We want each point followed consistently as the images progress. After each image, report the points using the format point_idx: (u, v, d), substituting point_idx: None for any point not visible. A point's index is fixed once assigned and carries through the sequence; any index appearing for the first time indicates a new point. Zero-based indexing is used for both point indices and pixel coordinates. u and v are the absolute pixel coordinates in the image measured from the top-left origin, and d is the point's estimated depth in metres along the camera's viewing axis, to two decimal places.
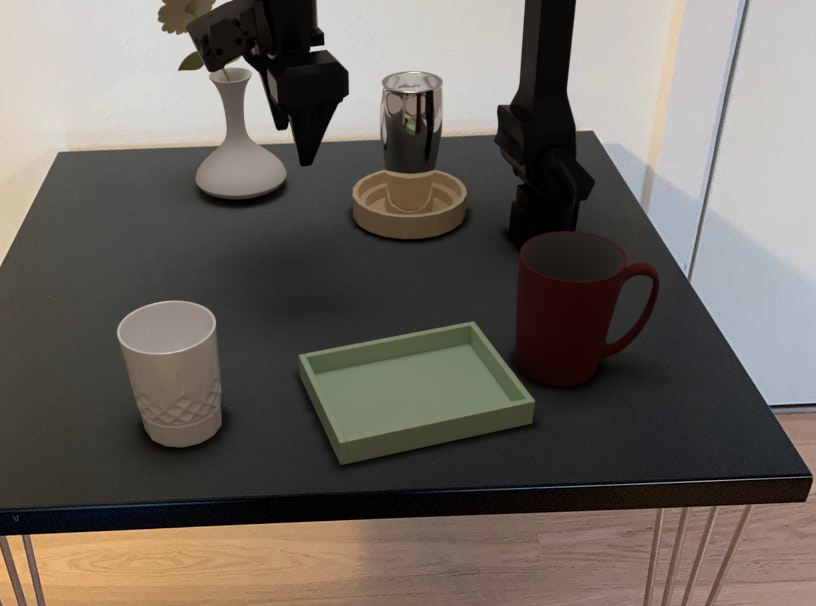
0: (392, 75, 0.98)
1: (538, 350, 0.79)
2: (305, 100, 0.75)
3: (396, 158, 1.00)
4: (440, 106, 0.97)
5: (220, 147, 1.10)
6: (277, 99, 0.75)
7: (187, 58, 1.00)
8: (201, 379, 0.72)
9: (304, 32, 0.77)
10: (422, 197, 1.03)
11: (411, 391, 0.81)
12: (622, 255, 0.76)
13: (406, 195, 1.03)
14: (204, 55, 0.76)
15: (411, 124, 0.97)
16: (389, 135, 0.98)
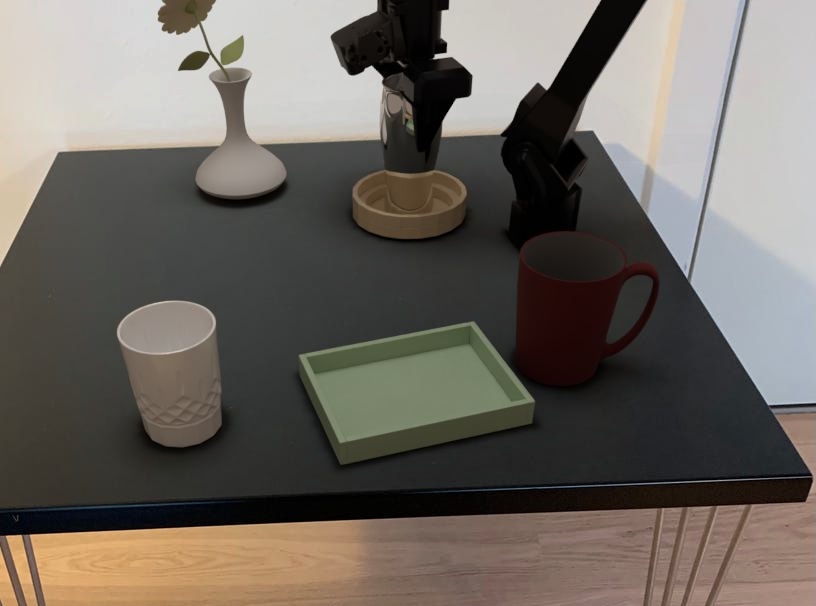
0: (392, 75, 0.98)
1: (538, 350, 0.79)
2: (436, 99, 0.89)
3: (396, 158, 1.00)
4: None
5: (220, 147, 1.10)
6: (413, 98, 0.89)
7: (187, 58, 1.00)
8: (201, 379, 0.72)
9: (431, 42, 0.92)
10: (422, 197, 1.03)
11: (411, 391, 0.81)
12: (622, 255, 0.76)
13: (406, 195, 1.03)
14: (350, 61, 0.90)
15: (411, 124, 0.97)
16: (389, 135, 0.98)
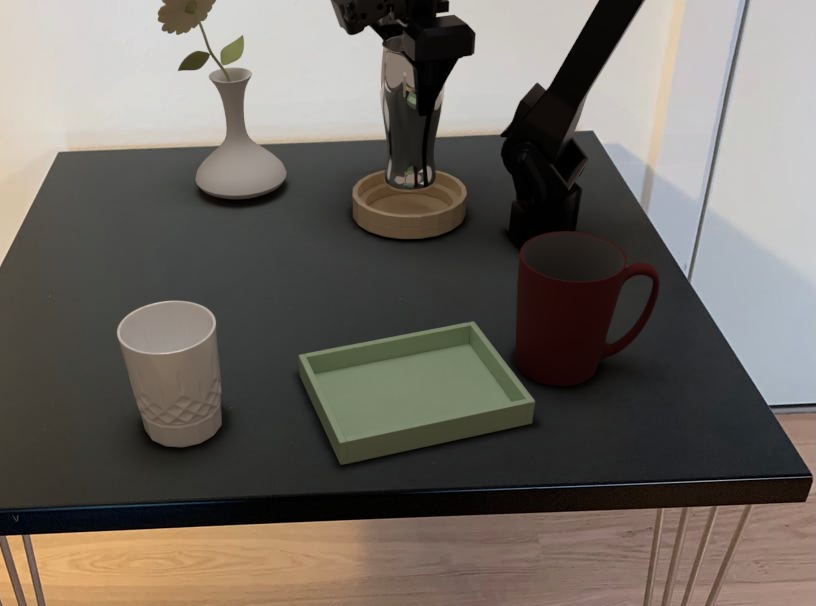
0: (393, 37, 0.96)
1: (538, 350, 0.79)
2: (438, 57, 0.86)
3: (397, 123, 0.97)
4: None
5: (220, 147, 1.10)
6: (414, 57, 0.86)
7: (187, 58, 1.00)
8: (201, 379, 0.72)
9: (433, 0, 0.89)
10: (424, 164, 1.00)
11: (411, 391, 0.81)
12: (622, 255, 0.76)
13: (407, 162, 1.00)
14: (349, 19, 0.88)
15: (412, 87, 0.94)
16: (390, 99, 0.96)
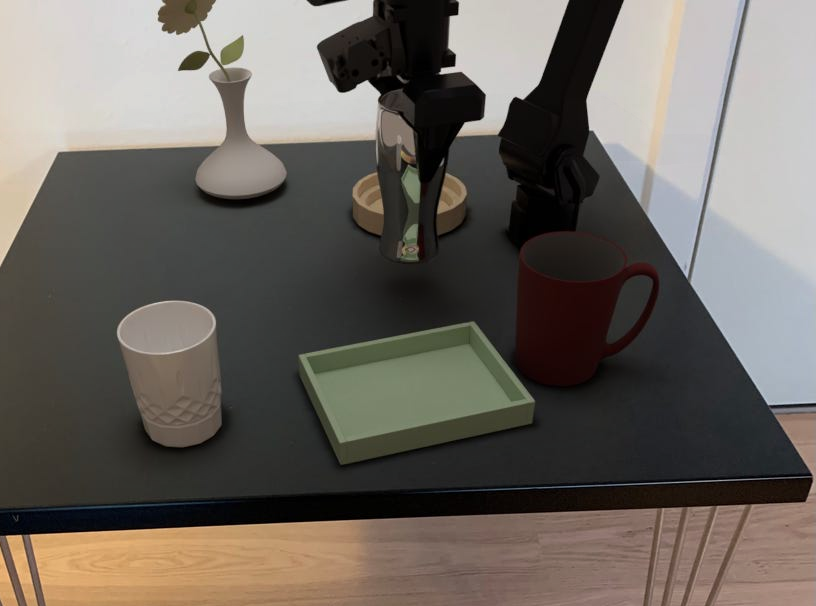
0: (390, 91, 0.83)
1: (538, 350, 0.79)
2: (442, 123, 0.74)
3: (394, 189, 0.85)
4: None
5: (220, 147, 1.10)
6: (413, 121, 0.74)
7: (187, 58, 1.00)
8: (201, 379, 0.72)
9: (437, 54, 0.77)
10: (425, 234, 0.88)
11: (411, 391, 0.81)
12: (622, 255, 0.76)
13: (405, 231, 0.88)
14: (339, 76, 0.75)
15: (411, 150, 0.81)
16: (386, 162, 0.83)
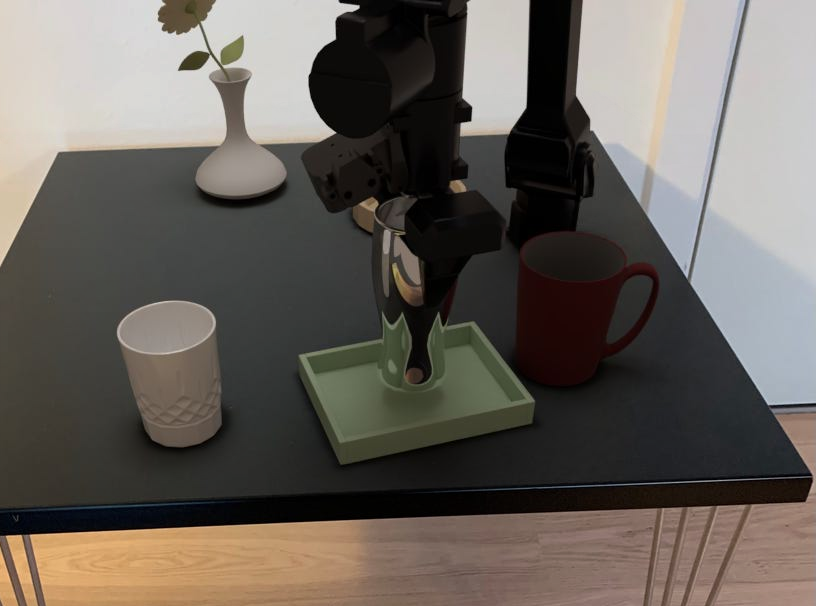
0: (389, 200, 0.70)
1: (538, 350, 0.79)
2: (454, 256, 0.61)
3: (395, 314, 0.72)
4: None
5: (220, 147, 1.10)
6: (419, 254, 0.61)
7: (187, 58, 1.00)
8: (201, 379, 0.72)
9: (446, 166, 0.64)
10: (431, 360, 0.75)
11: None
12: (622, 255, 0.76)
13: (408, 357, 0.75)
14: (328, 197, 0.62)
15: (415, 273, 0.68)
16: (385, 285, 0.70)
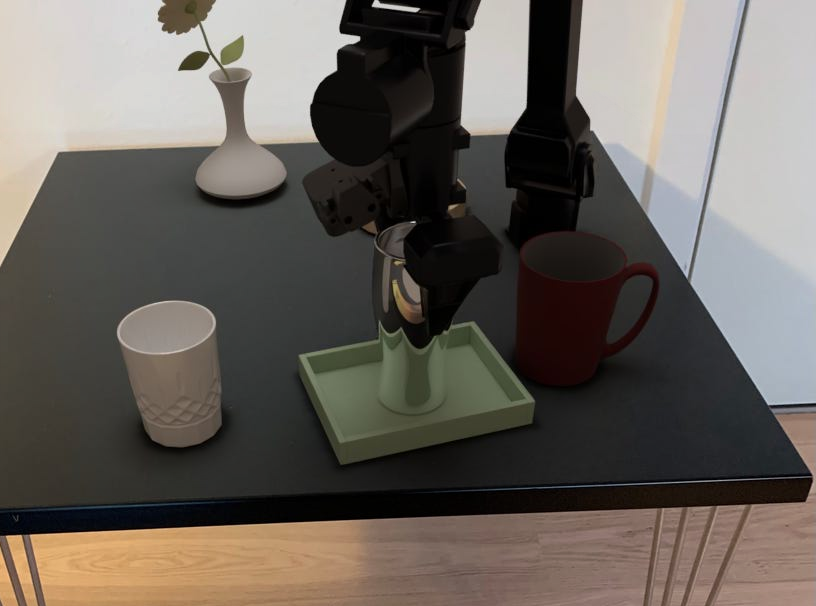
0: (389, 227, 0.72)
1: (538, 350, 0.79)
2: (452, 280, 0.62)
3: (394, 338, 0.73)
4: None
5: (220, 147, 1.10)
6: (418, 278, 0.62)
7: (187, 58, 1.00)
8: (201, 379, 0.72)
9: (444, 191, 0.65)
10: (430, 382, 0.77)
11: None
12: (622, 255, 0.76)
13: (408, 380, 0.76)
14: (328, 222, 0.63)
15: (414, 299, 0.70)
16: (385, 310, 0.72)
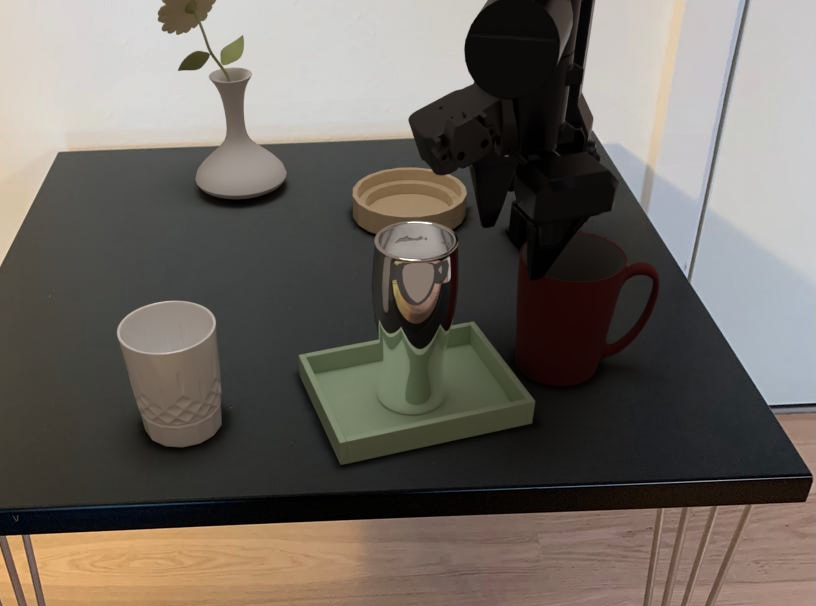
0: (389, 227, 0.72)
1: (538, 350, 0.79)
2: (566, 216, 0.61)
3: (394, 338, 0.73)
4: (455, 273, 0.71)
5: (220, 147, 1.10)
6: (532, 214, 0.61)
7: (187, 58, 1.00)
8: (201, 379, 0.72)
9: (554, 129, 0.64)
10: (430, 382, 0.77)
11: None
12: (622, 255, 0.76)
13: (408, 380, 0.76)
14: (440, 159, 0.63)
15: (414, 299, 0.70)
16: (385, 310, 0.72)
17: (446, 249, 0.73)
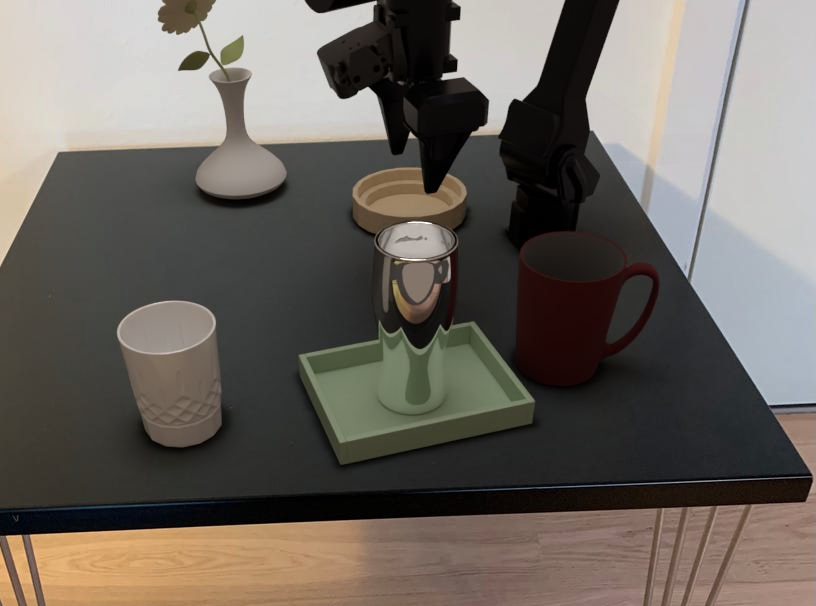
0: (389, 227, 0.72)
1: (538, 350, 0.79)
2: (445, 129, 0.73)
3: (394, 338, 0.73)
4: (455, 273, 0.71)
5: (220, 147, 1.10)
6: (416, 128, 0.73)
7: (187, 58, 1.00)
8: (201, 379, 0.72)
9: (439, 59, 0.76)
10: (430, 382, 0.77)
11: None
12: (622, 255, 0.76)
13: (408, 380, 0.76)
14: (340, 82, 0.74)
15: (414, 299, 0.70)
16: (385, 310, 0.72)
17: (446, 249, 0.73)
